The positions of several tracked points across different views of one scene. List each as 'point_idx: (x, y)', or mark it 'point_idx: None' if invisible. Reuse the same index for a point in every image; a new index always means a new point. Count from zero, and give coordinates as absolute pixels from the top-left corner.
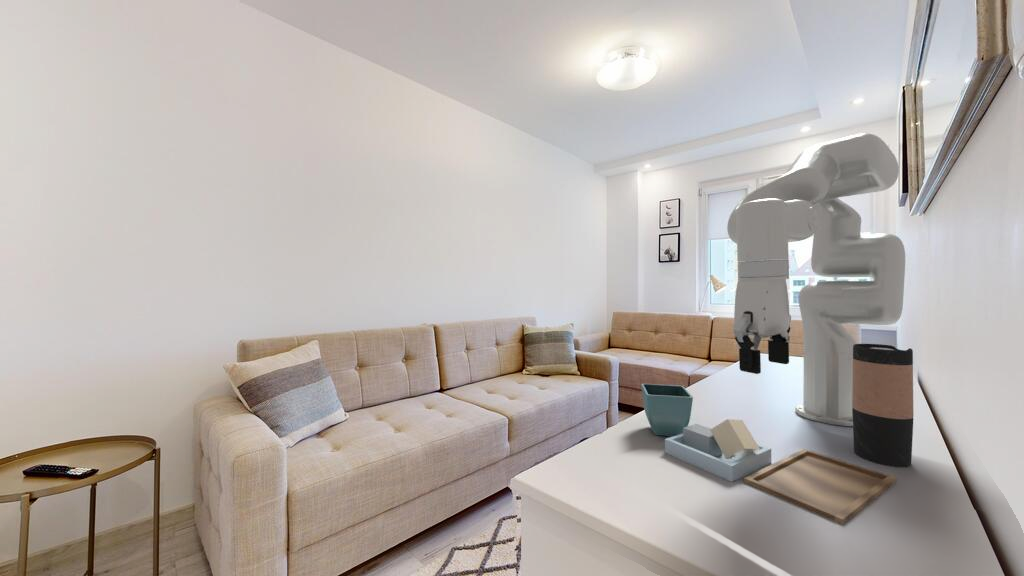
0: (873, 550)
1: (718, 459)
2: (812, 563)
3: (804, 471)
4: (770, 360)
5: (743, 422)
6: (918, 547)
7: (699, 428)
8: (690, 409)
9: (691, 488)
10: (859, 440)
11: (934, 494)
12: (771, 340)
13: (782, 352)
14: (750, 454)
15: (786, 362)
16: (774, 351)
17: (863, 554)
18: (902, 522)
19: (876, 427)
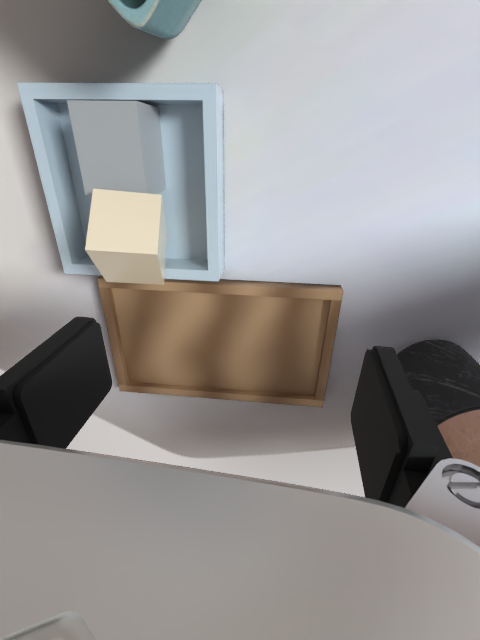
0: (113, 406)
1: (61, 243)
2: None
3: (238, 318)
4: (365, 357)
5: (156, 257)
6: (162, 427)
7: (112, 136)
8: (152, 34)
9: (7, 225)
10: (412, 376)
11: (330, 427)
12: (421, 461)
13: (362, 450)
14: None
15: (352, 421)
16: (370, 417)
17: None
18: (205, 414)
19: None
